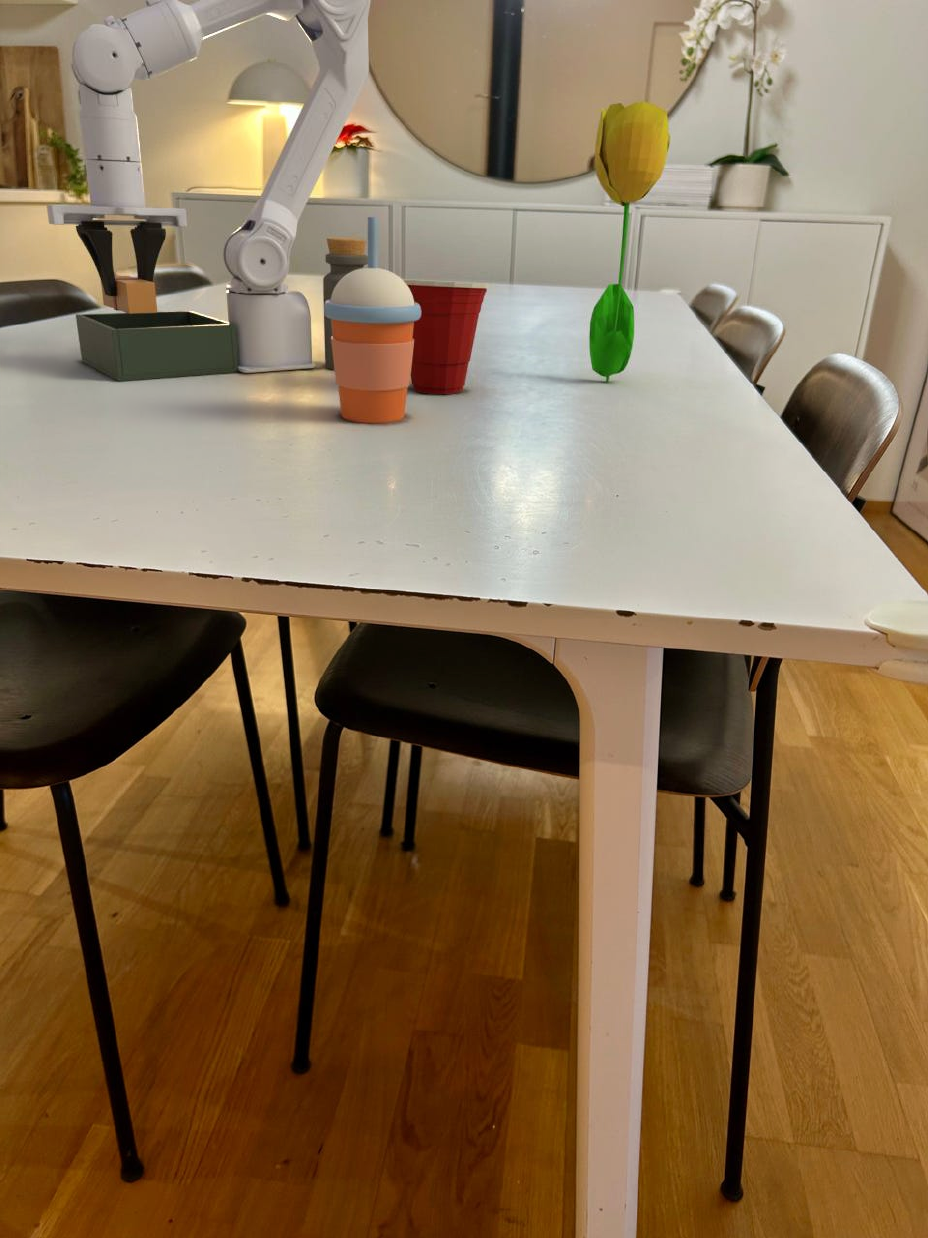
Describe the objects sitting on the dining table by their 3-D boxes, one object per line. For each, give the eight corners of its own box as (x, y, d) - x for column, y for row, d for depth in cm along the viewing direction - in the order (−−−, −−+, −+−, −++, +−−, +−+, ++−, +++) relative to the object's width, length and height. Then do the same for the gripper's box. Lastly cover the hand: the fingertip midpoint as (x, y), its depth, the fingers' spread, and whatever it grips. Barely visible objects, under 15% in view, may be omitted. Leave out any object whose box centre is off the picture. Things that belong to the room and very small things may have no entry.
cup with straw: (405, 431, 84) (408, 219, 76) (312, 422, 85) (306, 214, 78) (428, 411, 92) (433, 218, 84) (343, 404, 94) (340, 214, 86)
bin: (194, 354, 118) (190, 310, 116) (238, 372, 108) (235, 324, 106) (81, 361, 110) (75, 314, 108) (118, 381, 100) (111, 329, 98)
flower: (645, 390, 107) (681, 101, 95) (577, 387, 107) (604, 97, 95) (634, 377, 115) (666, 108, 103) (571, 374, 115) (595, 105, 103)
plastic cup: (488, 383, 107) (494, 276, 102) (481, 401, 98) (486, 283, 93) (398, 378, 108) (399, 271, 103) (382, 395, 98) (382, 278, 93)
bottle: (349, 372, 110) (347, 239, 104) (315, 366, 114) (311, 237, 107) (381, 367, 115) (381, 239, 108) (347, 361, 118) (345, 236, 111)
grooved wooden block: (132, 304, 108) (128, 274, 106) (158, 313, 101) (155, 281, 100) (102, 305, 106) (99, 274, 104) (128, 314, 99) (124, 281, 98)
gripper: (52, 157, 90) (72, 300, 96) (192, 165, 98) (203, 296, 104) (34, 157, 95) (54, 293, 101) (169, 165, 103) (180, 290, 109)
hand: (128, 294), depth 103 cm, fingers closed on grooved wooden block, 3 cm apart
